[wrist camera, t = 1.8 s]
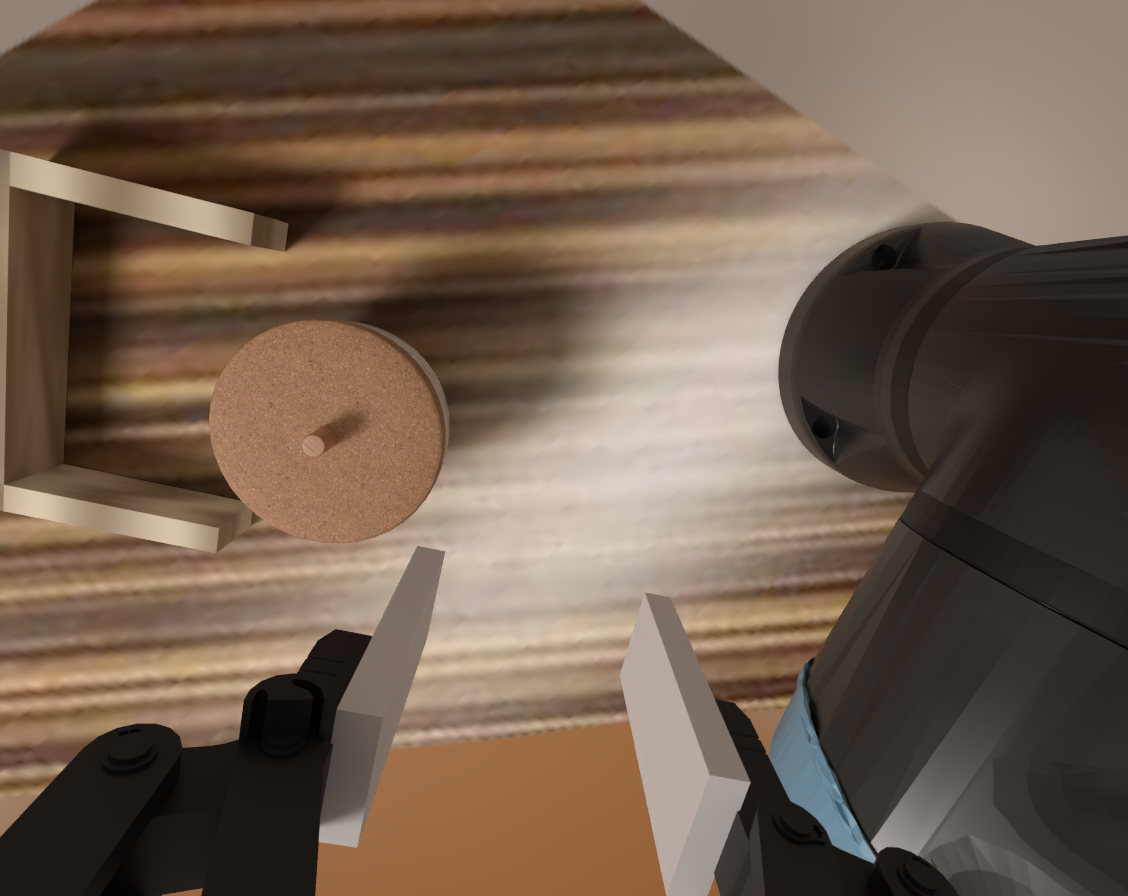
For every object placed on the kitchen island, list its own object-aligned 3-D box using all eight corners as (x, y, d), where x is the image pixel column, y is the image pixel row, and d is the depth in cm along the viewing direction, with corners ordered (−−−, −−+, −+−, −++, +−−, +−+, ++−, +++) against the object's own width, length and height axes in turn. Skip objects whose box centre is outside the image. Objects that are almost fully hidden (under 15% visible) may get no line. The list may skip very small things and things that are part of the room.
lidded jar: (360, 273, 33) (291, 263, 24) (501, 405, 35) (488, 442, 26) (241, 409, 35) (134, 448, 25) (383, 527, 37) (331, 603, 28)
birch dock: (288, 223, 32) (253, 213, 28) (250, 525, 36) (216, 553, 32) (46, 162, 31) (-25, 142, 27) (36, 482, 35) (-27, 505, 31)
